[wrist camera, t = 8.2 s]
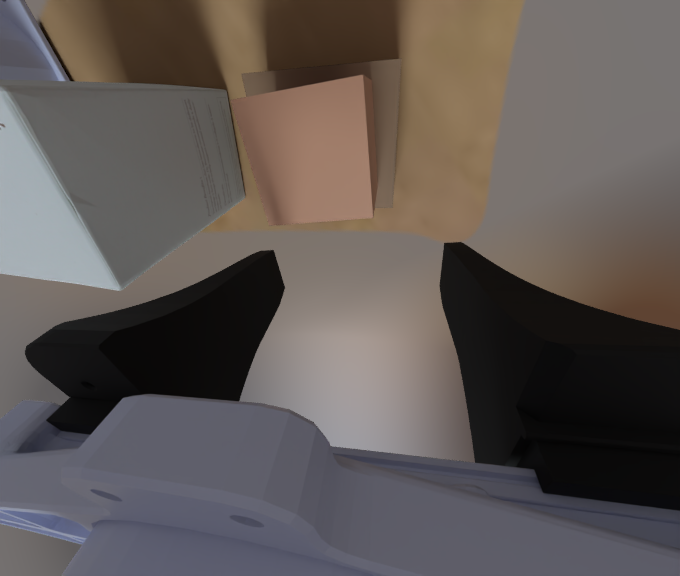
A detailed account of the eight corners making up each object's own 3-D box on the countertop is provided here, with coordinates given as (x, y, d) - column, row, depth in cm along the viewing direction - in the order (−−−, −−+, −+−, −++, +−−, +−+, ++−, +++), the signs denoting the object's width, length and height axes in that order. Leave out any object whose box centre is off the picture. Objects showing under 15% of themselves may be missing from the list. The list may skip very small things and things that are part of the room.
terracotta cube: (298, 194, 17) (269, 225, 13) (276, 98, 14) (230, 99, 10) (377, 186, 16) (373, 217, 12) (371, 80, 13) (362, 74, 9)
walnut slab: (289, 190, 21) (270, 208, 18) (270, 77, 17) (241, 73, 13) (392, 189, 19) (392, 207, 16) (399, 65, 15) (401, 58, 12)
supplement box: (126, 81, 18) (-219, 64, 8) (230, 88, 17) (-2, 80, 7) (164, 192, 22) (-25, 273, 12) (247, 201, 22) (121, 296, 11)
